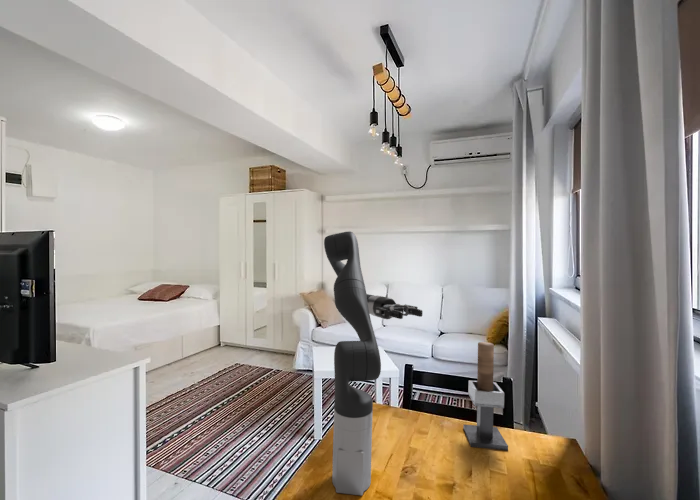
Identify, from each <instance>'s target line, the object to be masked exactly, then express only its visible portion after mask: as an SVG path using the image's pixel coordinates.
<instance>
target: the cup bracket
mask: <svg viewBox="0 0 700 500" xmlns="http://www.w3.org/2000/svg"><path fill="white" fill-rule="evenodd" d="M467 391H468V393H467V394H468V396H469V397H470V400H471V402H472V404H473V405H474V406H475V407H477V408H476V425H475V424H474V425H472V424H465V423H464V424H463V427H462V428H463V431H464V432H465V436H466V438H467V440H468V443H469V446H470V448H480V449H489V450H490V449H491V450H492V449H493V450H502V451H509V445H508V443H507V442H506V440H505V438H504V437H503V435H502V434H501V432H500V430H499V429H498V427H496V426H494V408H496V409H505V392H504V391H503V389H502V388H501V387H500V386H499V385H498V383H497V382H494V381H493V391H483V390H477V380H468V390H467Z"/></svg>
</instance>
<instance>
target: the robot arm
mask: <svg viewBox="0 0 700 500" xmlns="http://www.w3.org/2000/svg"><path fill="white" fill-rule="evenodd" d="M357 238H358V237H357V236H356V235H355V233H354V231H350V230H349V231H344V232H338V233H333V234H328V235H327V236H325V237H324V240H323V245H324V252H325V254H326V255H325V256H326V258H327V259H328V262H329V265H331V267H332V270H333V271H334V273H335V274H336V276H337V277H336V278H335V280H334V284H333V297H334V305H335V307H336V309H337V311H338V312H339V314H340V315H341V317H343V318H344V319H345V321H347V322H348V324H349V325H350V326H351V327H352V328H353V329H354V331H355V332H356V334H357V336H358V339H359V340H341V341H337V343H336V345H335V347H334V355H333V361H334V363H333V365H334V367H333V369H334V403H333V405H334V406H333V434H332V435H333V438H332V441H333V442H332V475H331V476H332V477H331V478H332V481H331V483H332V485H333V487H335V493H337V494H345V495H354V496H363V495H364V492H365V491H367V490H368V489H369V488H370V486H371V482H372V451H373V450H372V448H373V445H372V444H373V442H372V441H373V406H374V404H373V403H374V401H373V398H372V396H371V394H370V393H368V392H367V391H365V390H363V389H359V388H357V387H354V386H352V385H351V384H349V383H351V382H369V381H370V382H371V381H375V380H378V379H379V377H380V375H381V372H382V371H381V370H382V364H381V354H380V350H379V345H378V341H377V338H376V334H375V331H374V328H373V324H372V320H371V316H374V317H377V318H380V319H384V320H390V319H392V318H395V319H398V320H402V319H403V318H404V316H405V317H407V316H408V315H410V316H415V317H419V318H420V317H422V316H423V310H422V309H420V308H418V306H414V305H410V304H406V303H405V304H399V303H396V301H395V300H394V299H393V298H391V297H388V296H387V297H386V296H382V295H374V294H369V293H367V290H366V285H365V280H364V276H363V273H362V267H361V259H360V258H361V257H360V250H359V249H360V247H359V243H358V239H357ZM345 260H346V263H345V264H344V262H342V261H345Z"/></svg>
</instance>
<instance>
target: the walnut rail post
mask: <svg viewBox="0 0 700 500" xmlns="http://www.w3.org/2000/svg"><path fill="white" fill-rule="evenodd" d="M494 357H495V345H494V343H492V342H487V341H480V342H478V343H477V377H476V378H477V380H476V381H477V390H483V391H493V382H494V368H495V367H494V365H495V362H494V361H495V360H494V359H495V358H494Z"/></svg>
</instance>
